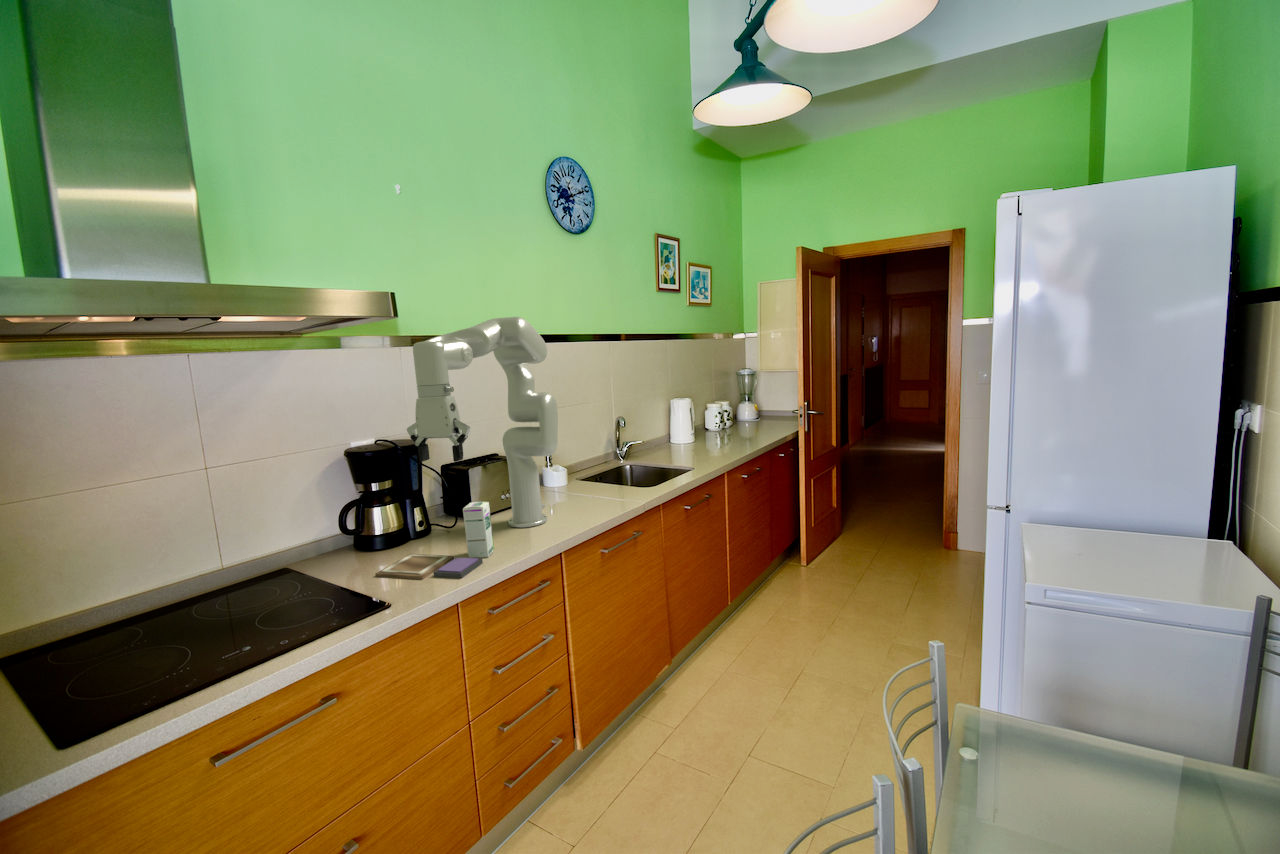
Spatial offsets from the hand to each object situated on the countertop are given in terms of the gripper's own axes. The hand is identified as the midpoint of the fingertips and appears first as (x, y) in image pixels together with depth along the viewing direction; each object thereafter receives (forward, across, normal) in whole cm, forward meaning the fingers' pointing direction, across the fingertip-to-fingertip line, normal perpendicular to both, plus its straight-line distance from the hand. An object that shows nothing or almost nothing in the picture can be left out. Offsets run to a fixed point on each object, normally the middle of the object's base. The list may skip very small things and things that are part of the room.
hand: (441, 460), depth 139 cm
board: (+30, +13, -2) cm, 32 cm away
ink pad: (+30, 0, -2) cm, 30 cm away
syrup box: (+30, 0, -13) cm, 33 cm away
